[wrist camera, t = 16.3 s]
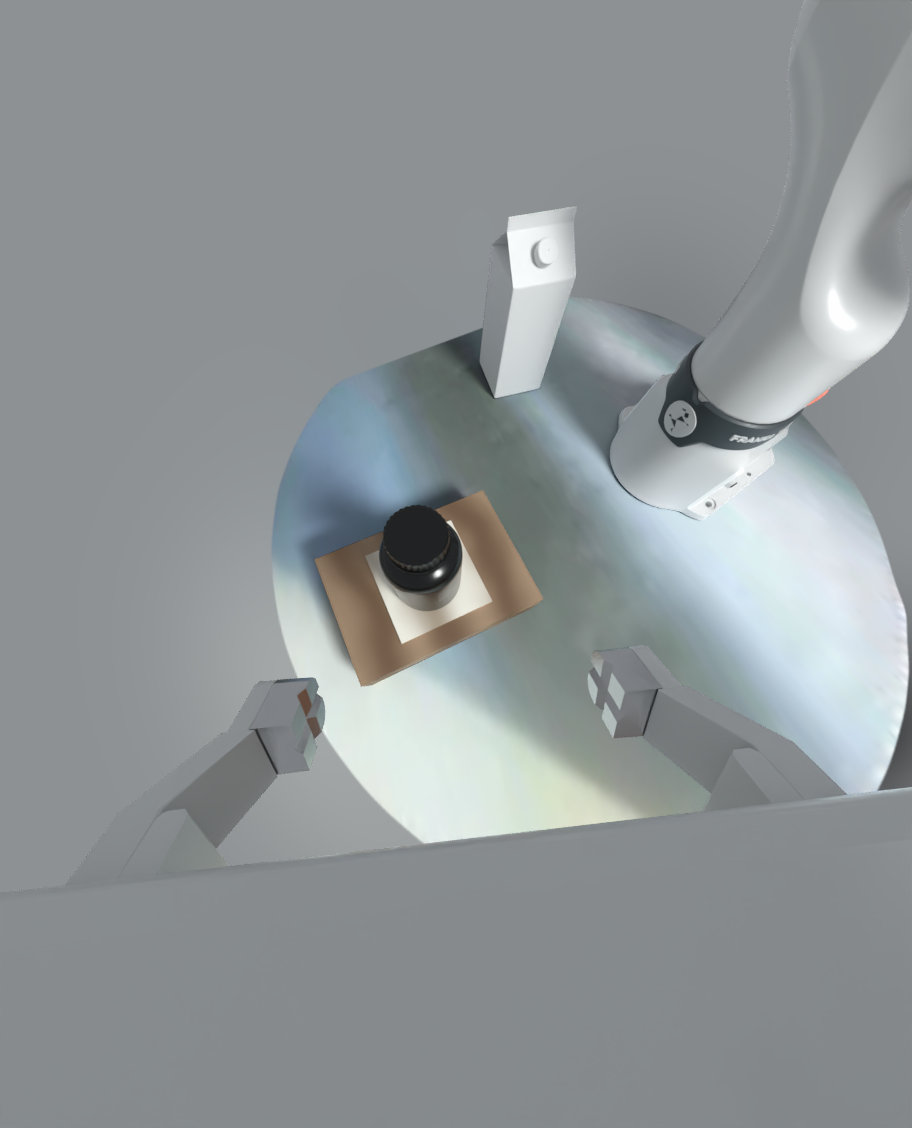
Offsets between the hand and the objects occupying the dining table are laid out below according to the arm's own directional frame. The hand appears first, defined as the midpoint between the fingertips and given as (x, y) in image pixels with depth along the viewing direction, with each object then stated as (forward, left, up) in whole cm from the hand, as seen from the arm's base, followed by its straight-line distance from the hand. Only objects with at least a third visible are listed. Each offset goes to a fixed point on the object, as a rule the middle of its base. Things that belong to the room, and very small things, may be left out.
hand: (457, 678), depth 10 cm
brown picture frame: (-2, -10, -29) cm, 31 cm away
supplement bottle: (-2, -10, -24) cm, 26 cm away
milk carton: (-26, -35, -29) cm, 52 cm away
